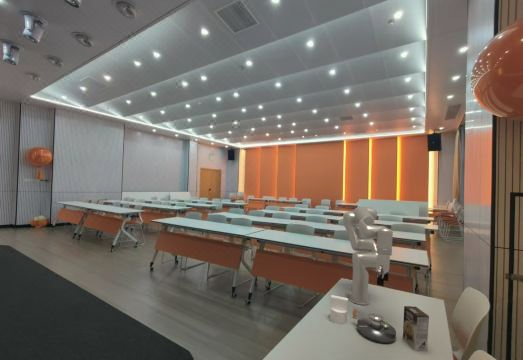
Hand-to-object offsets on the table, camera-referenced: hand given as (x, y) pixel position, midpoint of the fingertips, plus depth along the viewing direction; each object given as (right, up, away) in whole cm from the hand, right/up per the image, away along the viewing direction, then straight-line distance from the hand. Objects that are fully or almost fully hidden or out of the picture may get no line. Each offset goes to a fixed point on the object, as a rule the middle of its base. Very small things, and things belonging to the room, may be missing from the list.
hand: (382, 282), depth 138 cm
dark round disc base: (-8, -22, -9) cm, 25 cm away
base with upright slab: (-24, -21, +2) cm, 32 cm away
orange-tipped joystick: (-11, -18, -7) cm, 22 cm away
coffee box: (+7, -22, -18) cm, 29 cm away
